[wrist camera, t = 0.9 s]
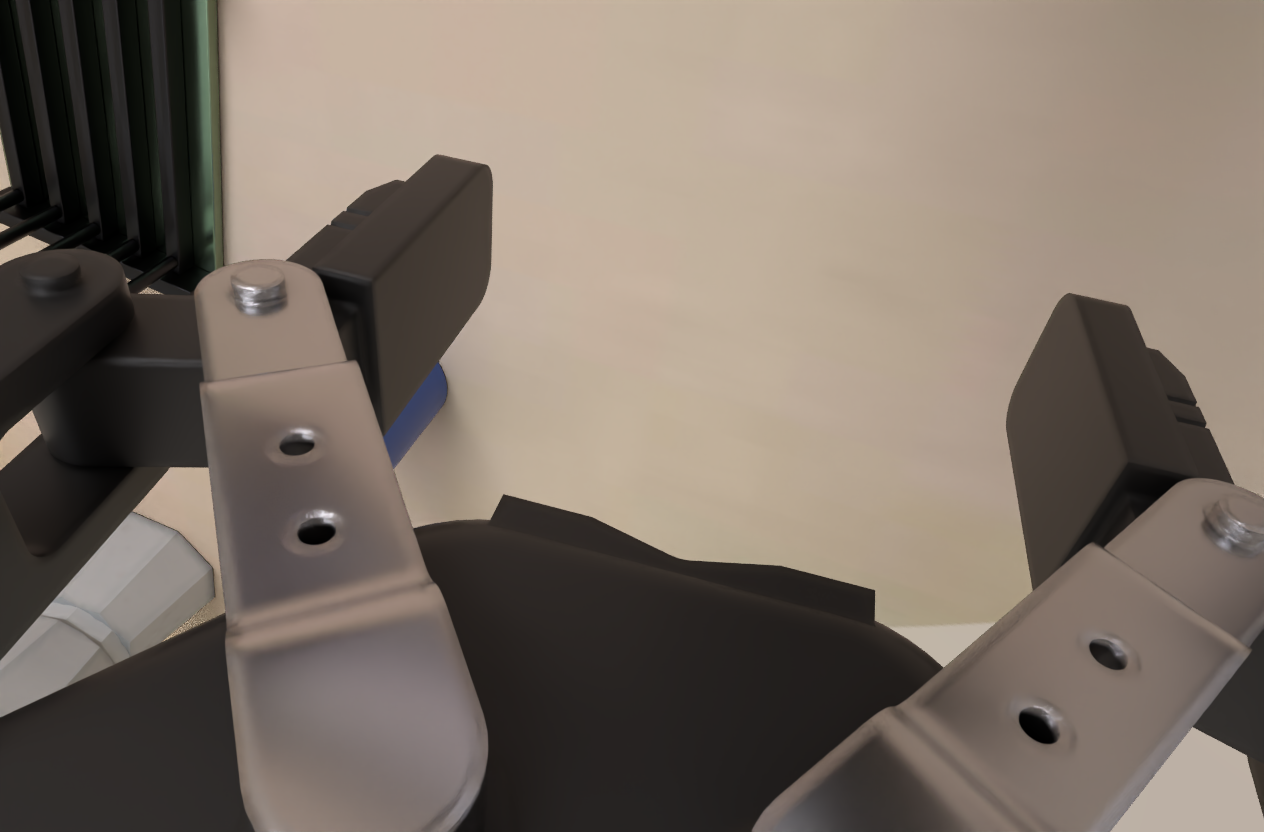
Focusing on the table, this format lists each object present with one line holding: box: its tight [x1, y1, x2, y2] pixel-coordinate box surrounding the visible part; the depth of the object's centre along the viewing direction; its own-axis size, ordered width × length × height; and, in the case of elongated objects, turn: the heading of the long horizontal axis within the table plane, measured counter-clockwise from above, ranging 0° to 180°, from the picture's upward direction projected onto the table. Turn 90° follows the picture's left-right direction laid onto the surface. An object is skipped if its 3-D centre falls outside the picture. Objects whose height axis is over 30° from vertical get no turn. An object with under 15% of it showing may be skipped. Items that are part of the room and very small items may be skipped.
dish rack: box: [0, 0, 223, 295], centre depth 35 cm, size 16×11×7 cm
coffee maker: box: [0, 512, 215, 717], centre depth 53 cm, size 15×9×18 cm, turn 74°
